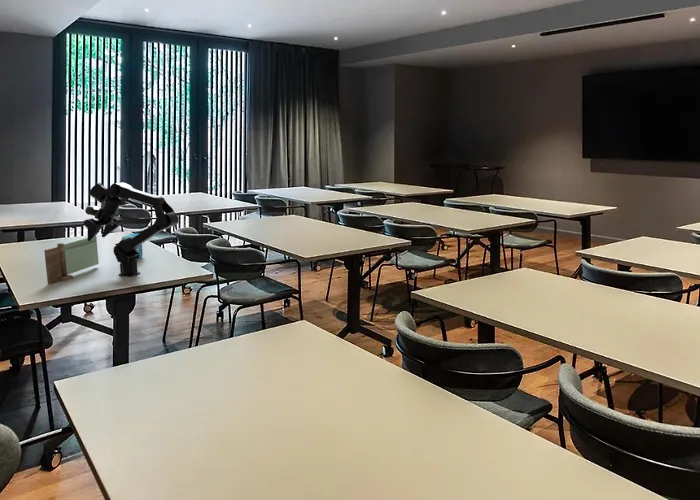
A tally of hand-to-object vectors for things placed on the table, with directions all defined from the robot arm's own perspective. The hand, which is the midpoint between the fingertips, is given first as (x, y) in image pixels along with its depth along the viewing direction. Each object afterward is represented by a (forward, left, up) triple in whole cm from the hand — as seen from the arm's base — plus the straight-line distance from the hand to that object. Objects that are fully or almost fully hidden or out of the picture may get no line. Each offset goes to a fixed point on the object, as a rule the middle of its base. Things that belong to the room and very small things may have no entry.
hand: (95, 238), depth 246 cm
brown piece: (+4, +18, -15) cm, 24 cm away
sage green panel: (+7, +3, -14) cm, 16 cm away
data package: (+5, -27, -15) cm, 31 cm away
